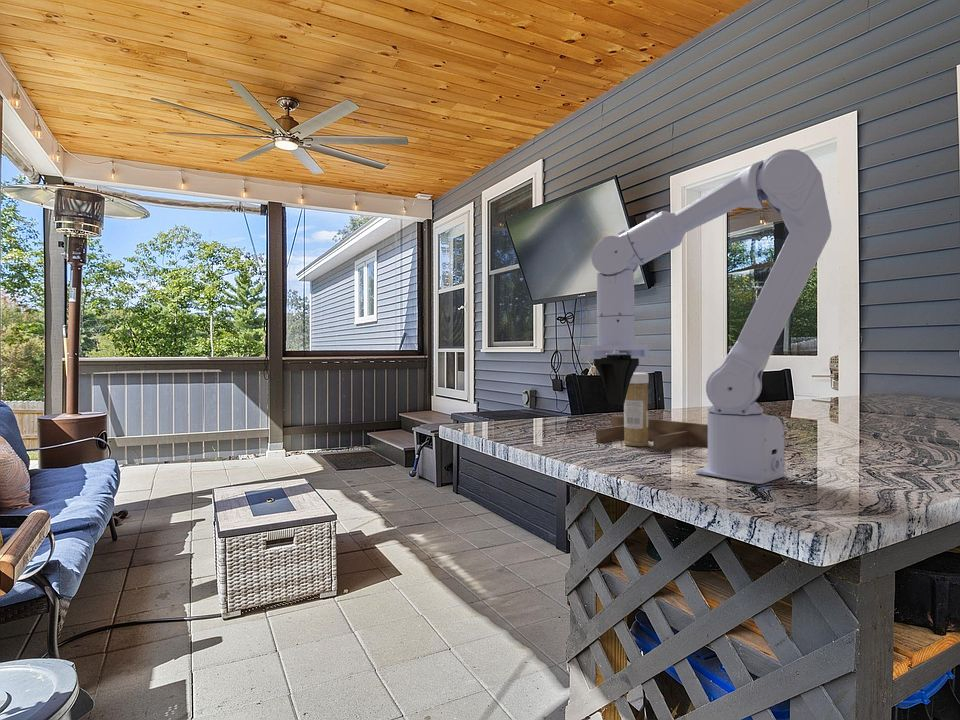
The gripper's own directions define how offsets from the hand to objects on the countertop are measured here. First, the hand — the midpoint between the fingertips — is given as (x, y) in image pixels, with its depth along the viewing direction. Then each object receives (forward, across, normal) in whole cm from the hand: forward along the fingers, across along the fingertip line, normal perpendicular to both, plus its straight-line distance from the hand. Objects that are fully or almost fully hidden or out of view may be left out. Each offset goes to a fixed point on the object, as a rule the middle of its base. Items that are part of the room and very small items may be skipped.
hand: (616, 404), depth 91 cm
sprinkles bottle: (+10, -17, -9) cm, 21 cm away
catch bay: (+9, -19, -9) cm, 23 cm away
